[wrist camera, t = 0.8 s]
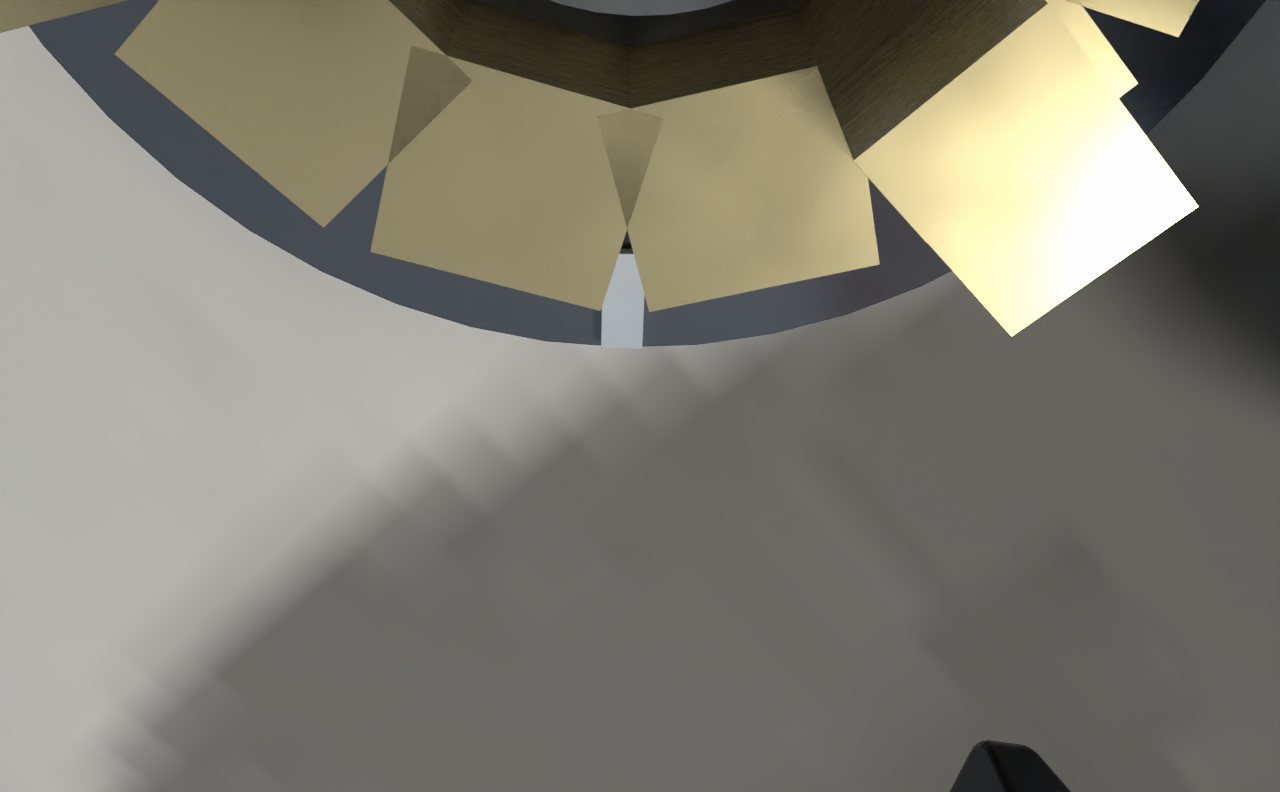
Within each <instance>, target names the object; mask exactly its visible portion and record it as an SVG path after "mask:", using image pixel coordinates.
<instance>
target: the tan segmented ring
mask: <svg viewBox="0 0 1280 792" xmlns="http://www.w3.org/2000/svg"><path fill="white" fill-rule="evenodd" d="M124 1H128V0H0V33H1V32H5V31H9V30H13V29H17V28H21V27H25V26H29V25H33V24H37V23H41V22H45V21H48V20H52V19H56V18H60V17H64V16H68V15H72V14H76V13H80V12H84V11H88V10H92V9H96V8H100V7H104V6H108V5H112V4H116V3H120V2H124ZM1198 1H1199V0H802V1H801V2H800V3H799V4H798V5H797V6H796V7H794V8H792V9H788V10H784V11H779V12H775V13H771V14H767V15H762V16H758V17H754V18H749V19H745V20H741V21H737V22H732V23H728V24H724V25H720V26H715V27H711V28H707V29H703V30H698V31H694V32H690V33H686V34H681V35H677V36H673V37H668V38H664V39H660V40H656V41H651V42H647V43H643V44H639V45H634V46H627V45H624V44H620V43H617V42H614V41H610V40H607V39H604V38H600V37H597V36H593V35H590V34H587V33H583V32H580V31H577V30H573V29H570V28H566V27H563V26H560V25H556V24H553V23H550V22H546V21H543V20H539V19H536V18H533V17H529V16H526V15H523V14H519V13H516V12H513V11H509V10H506V9H502V8H499V7H496V6H492V5H489V4H486V3H482V2H479V1H475V0H159V1H158V2H157V4H156V5H155V6H154V7H153V8H152V10H151V11H150V12H149V13H148V14H147V16H146V17H145V18H144V19H143V20H142V22H141V23H140V24H139V25H138V26H137V28H136V29H135V30H134V31H133V32H132V34H131V35H130V36H129V37H128V38H127V40H126V41H125V42H124V43H123V44H122V46H121V47H120V48H119V49H118V50H117V52H116V53H115V55H116V56H117V57H118V58H120V59H121V60H122V61H123V62H125V63H126V64H127V65H128V66H129V67H131V68H132V69H133V70H134V71H135V72H137V73H138V74H139V75H140V76H141V77H143V78H144V79H145V80H146V81H147V82H149V83H150V84H151V85H152V86H153V87H155V88H156V89H157V90H158V91H159V92H161V93H162V94H163V95H164V96H165V97H167V98H168V99H169V100H170V101H171V102H173V103H174V104H175V105H176V106H177V107H179V108H180V109H181V110H182V111H183V112H185V113H186V114H187V115H188V116H189V117H191V118H192V119H193V120H194V121H195V122H197V123H198V124H199V125H200V126H202V127H203V128H204V129H205V130H206V131H208V132H209V133H210V134H211V135H212V136H214V137H215V138H216V139H217V140H218V141H220V142H221V143H222V144H223V145H224V146H226V147H227V148H228V149H229V150H230V151H232V152H233V153H234V154H235V155H236V156H238V157H239V158H240V159H241V160H242V161H244V162H245V163H246V164H247V165H248V166H250V167H251V168H252V169H253V170H254V171H256V172H257V173H258V174H259V175H260V176H262V177H263V178H264V179H265V180H266V181H268V182H269V183H270V184H271V185H272V186H274V187H275V188H276V189H277V190H278V191H280V192H281V193H282V194H283V195H285V196H286V197H287V198H288V199H289V200H291V201H292V202H293V203H294V204H295V205H297V206H298V207H299V208H300V209H301V210H303V211H304V212H305V213H306V214H307V215H309V216H310V217H311V218H312V219H313V220H315V221H316V222H317V223H318V224H319V225H321V226H322V227H323V228H324V227H325V226H326V225H327V224H328V223H329V222H330V221H331V220H332V219H333V218H334V217H335V216H336V215H337V214H338V213H339V212H340V211H341V210H342V209H343V208H344V207H345V206H346V205H347V204H348V203H349V202H350V201H351V200H352V199H353V198H354V197H355V196H356V195H357V194H358V193H359V192H360V191H362V190H363V189H364V188H365V187H366V186H367V185H368V184H369V183H370V182H371V181H372V180H373V179H374V178H375V177H376V176H377V175H378V174H379V173H380V172H381V171H382V170H383V169H384V168H385V167H386V166H387V170H386V175H385V180H384V185H383V191H382V196H381V201H380V206H379V211H378V216H377V221H376V226H375V231H374V236H373V241H372V246H371V251H370V252H373V253H377V254H381V255H384V256H388V257H392V258H396V259H400V260H404V261H408V262H412V263H416V264H419V265H423V266H427V267H431V268H435V269H439V270H443V271H447V272H451V273H454V274H458V275H462V276H466V277H470V278H474V279H478V280H482V281H486V282H490V283H493V284H497V285H501V286H505V287H509V288H513V289H517V290H521V291H525V292H528V293H532V294H536V295H540V296H544V297H548V298H552V299H556V300H560V301H563V302H567V303H571V304H575V305H579V306H583V307H587V308H591V309H595V310H599V311H601V308H602V305H603V302H604V299H605V296H606V293H607V290H608V286H609V283H610V280H611V277H612V274H613V271H614V268H615V265H616V262H617V259H618V256H619V253H620V250H621V247H622V244H623V241H624V238H625V235H626V231H627V230H628V234H629V238H630V242H631V246H632V249H633V253H634V257H635V261H636V264H637V268H638V272H639V276H640V279H641V283H642V287H643V291H644V295H645V298H646V302H647V306H648V310H649V312H652V311H657V310H662V309H667V308H672V307H677V306H681V305H686V304H691V303H696V302H701V301H705V300H710V299H715V298H720V297H725V296H730V295H734V294H739V293H744V292H749V291H754V290H759V289H763V288H768V287H773V286H778V285H783V284H788V283H792V282H797V281H802V280H807V279H812V278H817V277H821V276H826V275H831V274H836V273H841V272H846V271H850V270H855V269H860V268H865V267H870V266H875V265H879V264H880V263H879V255H878V248H877V241H876V234H875V226H874V219H873V212H872V205H871V197H870V190H869V183H868V178H869V179H870V180H871V182H872V183H873V184H874V185H875V186H876V187H877V188H878V189H879V190H880V192H881V193H882V194H883V195H884V196H885V197H886V198H887V199H888V201H889V202H890V203H891V204H892V205H893V206H894V207H895V208H896V209H897V211H898V212H899V213H900V214H901V215H902V216H903V217H904V218H905V219H906V221H907V222H908V223H909V224H910V225H911V226H912V227H913V228H914V230H915V231H916V232H917V233H918V234H919V235H920V236H921V237H922V238H923V240H924V241H925V242H926V243H928V244H929V245H930V246H931V247H932V249H933V250H934V251H935V252H936V253H937V254H938V255H939V256H940V258H941V259H942V260H943V261H944V262H945V263H946V264H947V265H948V266H949V268H950V269H951V270H952V271H953V272H954V273H955V274H956V275H957V276H958V278H959V279H960V280H961V281H962V282H963V283H964V284H965V285H966V287H967V288H968V289H969V290H970V291H971V292H972V293H973V294H974V295H975V297H976V298H977V299H978V300H979V301H980V302H981V303H982V304H983V305H984V307H985V308H986V309H987V310H988V311H989V312H990V313H991V314H992V316H993V317H994V318H995V319H996V320H997V321H998V322H999V323H1000V324H1001V326H1002V327H1003V328H1004V329H1005V330H1006V331H1007V332H1008V333H1009V334H1010V336H1011V337H1012V336H1013V335H1015V334H1016V333H1018V332H1019V331H1021V330H1022V329H1024V328H1025V327H1026V326H1028V325H1029V324H1031V323H1032V322H1034V321H1035V320H1036V319H1038V318H1039V317H1041V316H1042V315H1044V314H1045V313H1047V312H1048V311H1049V310H1051V309H1052V308H1054V307H1055V306H1057V305H1058V304H1059V303H1061V302H1062V301H1064V300H1065V299H1067V298H1068V297H1069V296H1071V295H1072V294H1074V293H1075V292H1077V291H1078V290H1080V289H1081V288H1082V287H1084V286H1085V285H1087V284H1088V283H1090V282H1091V281H1092V280H1094V279H1095V278H1097V277H1098V276H1100V275H1101V274H1103V273H1104V272H1105V271H1107V270H1108V269H1110V268H1111V267H1113V266H1114V265H1115V264H1117V263H1118V262H1120V261H1121V260H1123V259H1124V258H1126V257H1127V256H1128V255H1130V254H1131V253H1133V252H1134V251H1136V250H1137V249H1138V248H1140V247H1141V246H1143V245H1144V244H1146V243H1147V242H1148V241H1150V240H1151V239H1153V238H1154V237H1156V236H1157V235H1159V234H1160V233H1161V232H1163V231H1164V230H1166V229H1167V228H1169V227H1170V226H1171V225H1173V224H1174V223H1176V222H1177V221H1179V220H1180V219H1182V218H1183V217H1184V216H1186V215H1187V214H1189V213H1190V212H1192V211H1193V210H1194V209H1196V208H1197V207H1199V206H1198V205H1197V204H1196V202H1195V201H1194V200H1193V198H1192V197H1191V196H1190V194H1189V193H1188V192H1187V190H1186V189H1185V187H1184V186H1183V185H1182V183H1181V182H1180V181H1179V179H1178V178H1177V177H1176V175H1175V174H1174V173H1173V171H1172V170H1171V169H1170V167H1169V166H1168V165H1167V163H1166V162H1165V160H1164V159H1163V158H1162V156H1161V155H1160V154H1159V152H1158V151H1157V150H1156V148H1155V147H1154V146H1153V144H1152V143H1151V142H1150V140H1149V139H1148V137H1147V136H1146V135H1145V133H1144V132H1143V131H1142V129H1141V128H1140V127H1139V125H1138V124H1137V123H1136V121H1135V120H1134V119H1133V117H1132V116H1131V115H1130V113H1129V112H1128V110H1127V109H1126V108H1125V106H1124V105H1123V104H1122V102H1121V101H1120V100H1119V98H1120V97H1121V96H1122V95H1124V94H1125V93H1126V92H1128V91H1129V90H1130V89H1132V88H1133V87H1134V86H1136V85H1137V84H1138V82H1137V81H1136V79H1135V78H1134V77H1133V75H1132V74H1131V72H1130V71H1129V70H1128V68H1127V67H1126V66H1125V64H1124V63H1123V61H1122V60H1121V59H1120V57H1119V56H1118V55H1117V53H1116V52H1115V50H1114V49H1113V48H1112V46H1111V45H1110V43H1109V42H1108V41H1107V39H1106V38H1105V37H1104V35H1103V34H1102V32H1101V31H1100V30H1099V28H1098V27H1097V26H1096V24H1095V23H1094V21H1093V20H1092V19H1091V17H1090V16H1089V15H1088V13H1087V12H1086V10H1085V9H1084V8H1083V7H1087V8H1090V9H1093V10H1096V11H1099V12H1102V13H1105V14H1108V15H1111V16H1114V17H1117V18H1120V19H1124V20H1127V21H1130V22H1133V23H1136V24H1139V25H1142V26H1145V27H1148V28H1151V29H1154V30H1158V31H1161V32H1164V33H1167V34H1170V35H1173V36H1176V37H1179V36H1180V34H1181V32H1182V30H1183V28H1184V27H1185V25H1186V23H1187V21H1188V19H1189V18H1190V16H1191V14H1192V12H1193V10H1194V9H1195V7H1196V5H1197V3H1198Z"/></svg>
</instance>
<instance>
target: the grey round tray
mask: <svg viewBox="0 0 1280 792" xmlns="http://www.w3.org/2000/svg"><path fill="white" fill-rule="evenodd" d="M158 1H159V0H128V1H124V2H120V3H116V4H112V5H108V6H104V7H100V8H96V9H92V10H88V11H84V12H80V13H76V14H72V15H68V16H64V17H60V18H56V19H52V20H48V21H45V22H41V23H37V24H33V25H29V27H30V28H31V29H32V31H33V32H34V33H35V35H36V36H37V38H38V39H39V40H40V42H41V43H42V44H43V46H44V47H45V48H46V49H47V50H48V51H49V52H50V53H51V54H52V56H53V57H54V58H55V59H56V60H57V61H58V62H59V63H60V64H61V65H62V67H63V68H64V69H65V70H66V71H67V72H68V73H69V74H70V75H71V76H72V78H73V79H74V80H75V81H76V82H77V83H78V84H79V85H80V86H81V87H82V88H83V90H84V91H85V92H86V93H87V94H88V95H89V96H90V97H91V98H92V99H93V101H94V102H95V103H96V104H97V105H98V106H99V107H100V108H101V109H102V110H103V112H104V113H105V114H106V115H107V116H108V117H109V118H110V119H111V120H112V121H113V122H115V123H116V124H117V125H118V126H119V127H120V128H121V129H122V130H123V131H125V132H126V133H127V134H128V135H129V136H130V137H131V138H132V139H134V140H135V141H136V142H137V143H138V144H139V145H140V146H141V147H143V148H144V149H145V150H146V151H147V152H148V153H149V154H150V155H152V156H153V157H154V158H155V159H156V160H157V161H158V162H159V163H160V164H162V165H163V166H164V167H165V168H166V169H167V170H168V171H169V172H171V173H172V174H173V175H174V176H175V177H176V178H177V179H179V180H180V181H181V182H183V183H184V184H186V185H187V186H188V187H190V188H191V189H192V190H194V191H195V192H197V193H198V194H199V195H201V196H202V197H204V198H205V199H206V200H208V201H209V202H211V203H212V204H213V205H215V206H216V207H218V208H219V209H220V210H222V211H223V212H224V213H226V214H227V215H229V216H230V217H231V218H233V219H234V220H236V221H237V222H238V223H240V224H241V225H243V226H244V227H245V228H247V229H248V230H250V231H251V232H253V233H255V234H257V235H258V236H260V237H262V238H264V239H266V240H267V241H269V242H271V243H273V244H274V245H276V246H278V247H280V248H281V249H283V250H285V251H287V252H288V253H290V254H292V255H294V256H295V257H297V258H299V259H301V260H302V261H304V262H306V263H308V264H309V265H311V266H313V267H315V268H316V269H318V270H320V271H322V272H324V273H326V274H329V275H331V276H333V277H336V278H338V279H340V280H343V281H345V282H347V283H349V284H352V285H354V286H356V287H359V288H361V289H363V290H366V291H368V292H370V293H373V294H375V295H377V296H379V297H382V298H384V299H386V300H389V301H391V302H393V303H396V304H399V305H402V306H405V307H408V308H412V309H415V310H418V311H421V312H425V313H428V314H431V315H434V316H438V317H441V318H444V319H447V320H451V321H454V322H457V323H460V324H463V325H467V326H470V327H475V328H480V329H485V330H490V331H496V332H501V333H506V334H511V335H516V336H522V337H527V338H532V339H537V340H542V341H550V342H563V343H575V344H588V345H601V348H636V349H642V346H671V345H698V344H705V343H712V342H719V341H726V340H733V339H740V338H747V337H754V336H760V335H767V334H774V333H777V332H781V331H785V330H789V329H793V328H797V327H801V326H804V325H808V324H812V323H816V322H820V321H824V320H827V319H831V318H835V317H839V316H843V315H847V314H850V313H852V312H855V311H857V310H860V309H863V308H865V307H868V306H871V305H873V304H876V303H878V302H881V301H884V300H886V299H889V298H892V297H894V296H897V295H899V294H902V293H905V292H907V291H910V290H913V289H915V288H918V287H920V286H923V285H925V284H927V283H929V282H931V281H933V280H935V279H936V278H938V277H940V276H942V275H944V274H946V273H948V272H950V271H952V270H951V269H950V268H949V266H948V265H947V264H946V263H945V262H944V261H943V260H942V259H941V258H940V256H939V255H938V254H937V253H936V252H935V251H934V250H933V249H932V247H931V246H930V245H929V244H928V243H926V242H925V241H924V240H923V238H922V237H921V236H920V235H919V234H918V233H917V232H916V231H915V230H914V228H913V227H912V226H911V225H910V224H909V223H908V222H907V221H906V219H905V218H904V217H903V216H902V215H901V214H900V213H899V212H898V211H897V209H896V208H895V207H894V206H893V205H892V204H891V203H890V202H889V201H888V199H887V198H886V197H885V196H884V195H883V194H882V193H881V192H880V190H879V189H878V188H877V187H876V186H875V185H874V184H873V183H872V182H871V180H870V179H869V178H868V183H869V190H870V197H871V205H872V212H873V219H874V226H875V234H876V241H877V248H878V255H879V263H880V264H879V265H875V266H870V267H865V268H860V269H855V270H850V271H846V272H841V273H836V274H831V275H826V276H821V277H817V278H812V279H807V280H802V281H797V282H792V283H788V284H783V285H778V286H773V287H768V288H763V289H759V290H754V291H749V292H744V293H739V294H734V295H730V296H725V297H720V298H715V299H710V300H705V301H701V302H696V303H691V304H686V305H681V306H677V307H672V308H667V309H662V310H657V311H652V312H649V310H648V306H647V302H646V298H645V295H644V291H643V287H642V283H641V279H640V276H639V272H638V268H637V264H636V261H635V257H634V253H633V249H632V246H631V242H630V238H629V234H628V230H627V231H626V235H625V238H624V241H623V244H622V247H621V250H620V253H619V256H618V259H617V262H616V265H615V268H614V271H613V274H612V277H611V280H610V283H609V286H608V290H607V293H606V296H605V299H604V302H603V305H602V308H601V311H599V310H595V309H591V308H587V307H583V306H579V305H575V304H571V303H567V302H563V301H560V300H556V299H552V298H548V297H544V296H540V295H536V294H532V293H528V292H525V291H521V290H517V289H513V288H509V287H505V286H501V285H497V284H493V283H490V282H486V281H482V280H478V279H474V278H470V277H466V276H462V275H458V274H454V273H451V272H447V271H443V270H439V269H435V268H431V267H427V266H423V265H419V264H416V263H412V262H408V261H404V260H400V259H396V258H392V257H388V256H384V255H381V254H377V253H373V252H370V251H371V246H372V241H373V236H374V231H375V226H376V221H377V216H378V211H379V206H380V201H381V196H382V191H383V185H384V180H385V175H386V170H387V166H386V167H385V168H384V169H383V170H382V171H381V172H380V173H379V174H378V175H377V176H376V177H375V178H374V179H373V180H372V181H371V182H370V183H369V184H368V185H367V186H366V187H365V188H364V189H363V190H362V191H360V192H359V193H358V194H357V195H356V196H355V197H354V198H353V199H352V200H351V201H350V202H349V203H348V204H347V205H346V206H345V207H344V208H343V209H342V210H341V211H340V212H339V213H338V214H337V215H336V216H335V217H334V218H333V219H332V220H331V221H330V222H329V223H328V224H327V225H326V226H325V227H324V228H323V227H322V226H321V225H319V224H318V223H317V222H316V221H315V220H313V219H312V218H311V217H310V216H309V215H307V214H306V213H305V212H304V211H303V210H301V209H300V208H299V207H298V206H297V205H295V204H294V203H293V202H292V201H291V200H289V199H288V198H287V197H286V196H285V195H283V194H282V193H281V192H280V191H278V190H277V189H276V188H275V187H274V186H272V185H271V184H270V183H269V182H268V181H266V180H265V179H264V178H263V177H262V176H260V175H259V174H258V173H257V172H256V171H254V170H253V169H252V168H251V167H250V166H248V165H247V164H246V163H245V162H244V161H242V160H241V159H240V158H239V157H238V156H236V155H235V154H234V153H233V152H232V151H230V150H229V149H228V148H227V147H226V146H224V145H223V144H222V143H221V142H220V141H218V140H217V139H216V138H215V137H214V136H212V135H211V134H210V133H209V132H208V131H206V130H205V129H204V128H203V127H202V126H200V125H199V124H198V123H197V122H195V121H194V120H193V119H192V118H191V117H189V116H188V115H187V114H186V113H185V112H183V111H182V110H181V109H180V108H179V107H177V106H176V105H175V104H174V103H173V102H171V101H170V100H169V99H168V98H167V97H165V96H164V95H163V94H162V93H161V92H159V91H158V90H157V89H156V88H155V87H153V86H152V85H151V84H150V83H149V82H147V81H146V80H145V79H144V78H143V77H141V76H140V75H139V74H138V73H137V72H135V71H134V70H133V69H132V68H131V67H129V66H128V65H127V64H126V63H125V62H123V61H122V60H121V59H120V58H118V57H117V56H116V55H115V53H116V52H117V50H118V49H119V48H120V47H121V46H122V44H123V43H124V42H125V41H126V40H127V38H128V37H129V36H130V35H131V34H132V32H133V31H134V30H135V29H136V28H137V26H138V25H139V24H140V23H141V22H142V20H143V19H144V18H145V17H146V16H147V14H148V13H149V12H150V11H151V10H152V8H153V7H154V6H155V5H156V4H157V2H158ZM475 1H479V2H482V3H486V4H489V5H492V6H496V7H499V8H502V9H506V10H509V11H513V12H516V13H519V14H523V15H526V16H529V17H533V18H536V19H539V20H543V21H546V22H550V23H553V24H556V25H560V26H563V27H566V28H570V29H573V30H577V31H580V32H583V33H587V34H590V35H593V36H597V37H600V38H604V39H607V40H610V41H614V42H617V43H620V44H624V45H627V46H634V45H639V44H643V43H647V42H651V41H656V40H660V39H664V38H668V37H673V36H677V35H681V34H686V33H690V32H694V31H698V30H703V29H707V28H711V27H715V26H720V25H724V24H728V23H732V22H737V21H741V20H745V19H749V18H754V17H758V16H762V15H767V14H771V13H775V12H779V11H784V10H788V9H792V8H794V7H796V6H797V5H798V4H799V3H800V2H801V1H802V0H475ZM1264 2H1265V0H1199V1H1198V3H1197V5H1196V7H1195V9H1194V10H1193V12H1192V14H1191V16H1190V18H1189V19H1188V21H1187V23H1186V25H1185V27H1184V28H1183V30H1182V32H1181V34H1180V36H1179V37H1176V36H1173V35H1170V34H1167V33H1164V32H1161V31H1158V30H1154V29H1151V28H1148V27H1145V26H1142V25H1139V24H1136V23H1133V22H1130V21H1127V20H1124V19H1120V18H1117V17H1114V16H1111V15H1108V14H1105V13H1102V12H1099V11H1096V10H1093V9H1090V8H1087V7H1083V8H1084V9H1085V10H1086V12H1087V13H1088V15H1089V16H1090V17H1091V19H1092V20H1093V21H1094V23H1095V24H1096V26H1097V27H1098V28H1099V30H1100V31H1101V32H1102V34H1103V35H1104V37H1105V38H1106V39H1107V41H1108V42H1109V43H1110V45H1111V46H1112V48H1113V49H1114V50H1115V52H1116V53H1117V55H1118V56H1119V57H1120V59H1121V60H1122V61H1123V63H1124V64H1125V66H1126V67H1127V68H1128V70H1129V71H1130V72H1131V74H1132V75H1133V77H1134V78H1135V79H1136V81H1137V82H1138V84H1137V85H1136V86H1134V87H1133V88H1132V89H1130V90H1129V91H1128V92H1126V93H1125V94H1124V95H1122V96H1121V97H1120V98H1119V100H1120V101H1121V102H1122V104H1123V105H1124V106H1125V108H1126V109H1127V110H1128V112H1129V113H1130V115H1131V116H1132V117H1133V119H1134V120H1135V121H1136V123H1137V124H1138V125H1139V127H1140V128H1141V129H1142V131H1143V132H1144V133H1145V135H1146V134H1147V133H1148V132H1149V131H1150V130H1151V129H1152V128H1153V127H1154V126H1155V125H1156V124H1157V123H1158V122H1159V121H1160V120H1161V119H1162V118H1163V117H1164V116H1165V115H1166V114H1167V113H1168V112H1169V111H1170V110H1171V109H1172V108H1173V107H1174V106H1175V105H1176V104H1177V103H1178V102H1179V101H1180V100H1181V99H1182V98H1183V97H1184V96H1185V95H1186V94H1187V93H1188V92H1189V91H1190V90H1191V89H1192V88H1193V87H1194V86H1195V85H1196V84H1197V83H1198V82H1199V81H1200V80H1201V79H1202V78H1203V77H1204V76H1205V74H1206V73H1207V72H1208V71H1209V69H1210V68H1211V67H1212V66H1213V64H1214V63H1215V62H1216V61H1217V60H1218V58H1219V57H1220V56H1221V55H1222V53H1223V52H1224V51H1225V50H1226V48H1227V47H1228V46H1229V45H1230V44H1231V42H1232V41H1233V40H1234V39H1235V37H1236V36H1237V35H1238V34H1239V32H1240V31H1241V30H1242V29H1243V27H1244V26H1245V25H1246V24H1247V23H1248V21H1249V20H1250V19H1251V18H1252V16H1253V15H1254V14H1255V13H1256V11H1257V10H1258V9H1259V8H1260V7H1261V5H1262V4H1263V3H1264Z"/></svg>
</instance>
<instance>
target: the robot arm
mask: <svg viewBox="0 0 1280 792" xmlns="http://www.w3.org/2000/svg"><path fill="white" fill-rule="evenodd" d="M950 792H1071V791H1070V790H1069V789H1068V788H1067V787H1066V786H1065V784H1064V783H1063V782H1062V781H1061V780H1060V779H1059V778H1058V776H1057V775H1056V774H1055V773H1054V772H1053V771H1052V769H1051V768H1050V767H1049V766H1048V765H1047V764H1046V763H1045V761H1044V760H1043V759H1042V758H1041V757H1040V756H1039V755H1038V754H1037V753H1036V752H1035V751H1034V750H1032V749H1031V748H1029V747H1027V746H1024V745H1020V744H1012V743H1004V742H996V741H989V740H986V741H981V742H979V743H978V744H976V745H975V746H974V747H973V749H972V750H971V752H970V754H969V755H968V757H967V759H966V761H965V763H964V765H963V767H962V769H961V771H960V773H959V775H958V777H957V779H956V781H955V783H954V785H953V786H952V788H951V790H950Z"/></svg>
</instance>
